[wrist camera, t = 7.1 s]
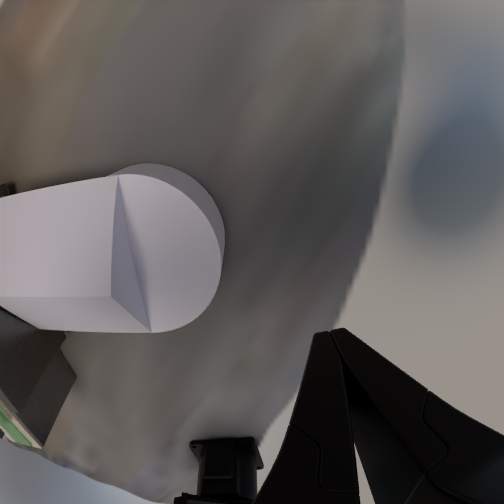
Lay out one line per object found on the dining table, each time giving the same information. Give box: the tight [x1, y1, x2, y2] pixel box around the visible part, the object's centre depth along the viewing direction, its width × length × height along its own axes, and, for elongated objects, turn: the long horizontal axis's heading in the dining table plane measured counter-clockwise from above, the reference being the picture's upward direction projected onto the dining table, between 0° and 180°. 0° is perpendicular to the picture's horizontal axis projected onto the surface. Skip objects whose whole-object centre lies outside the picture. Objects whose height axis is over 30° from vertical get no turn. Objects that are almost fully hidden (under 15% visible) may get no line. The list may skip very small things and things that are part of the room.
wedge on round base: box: [0, 163, 225, 333], centre depth 16 cm, size 9×7×13 cm
